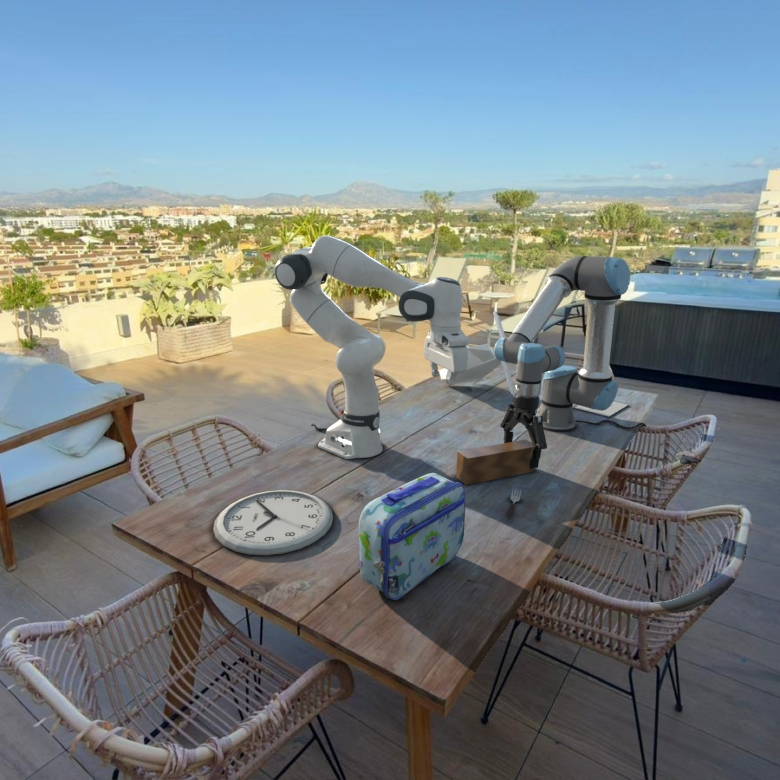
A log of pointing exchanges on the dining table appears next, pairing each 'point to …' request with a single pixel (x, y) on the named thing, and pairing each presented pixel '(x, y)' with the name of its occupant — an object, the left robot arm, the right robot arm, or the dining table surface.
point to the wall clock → (273, 522)
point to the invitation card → (608, 412)
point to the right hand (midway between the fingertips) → (520, 459)
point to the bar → (494, 462)
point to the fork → (514, 499)
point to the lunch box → (410, 533)
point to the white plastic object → (481, 363)
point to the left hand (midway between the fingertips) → (442, 380)
